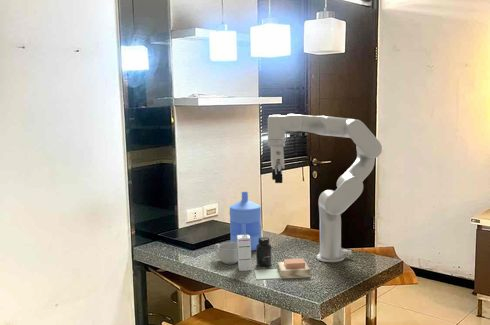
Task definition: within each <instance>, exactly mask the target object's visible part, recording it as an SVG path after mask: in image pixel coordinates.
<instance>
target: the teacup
mask: <svg viewBox="0 0 490 325" xmlns="http://www.w3.org/2000/svg"><path fill="white" fill-rule="evenodd" d="M213 249H214V251H215V253H216V254H217V255H218V258H219V260H220V261H221V262H222V263H223V264H225V265H234V264H238V250H237V242H231V241H227V242H222V243H215V244H214V246H213Z"/></svg>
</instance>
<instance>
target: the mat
mask: <svg viewBox="0 0 490 325" xmlns="http://www.w3.org/2000/svg"><path fill="white" fill-rule="evenodd" d="M253 271H254V272H253V273H254V276H255V279H256V281H259V280H260V281H261V280H262V281H263V280H279V279H281V280H282V279H283V278H281V276H280V274H279V271H278V268H273V269H272V268H271V269H255V270H254V269H253ZM297 278H299V279H300V278H302V279H303V277H288V278H287V279H297ZM307 278H311V275H310V276H308V277H307Z"/></svg>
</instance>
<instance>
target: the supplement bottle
mask: <svg viewBox="0 0 490 325" xmlns="http://www.w3.org/2000/svg"><path fill="white" fill-rule="evenodd" d="M258 243H259V244H258V245H257V246H256V250H255V252H256V253H255V255H256V256H255V258H256V259H255V262H256V265H257V266H258V267H260V268H261V267H263V268H265V267H266V268H267V267H270V266H271V265H272V264H273V263H272V261H273V260H272V254H273V253H272V252H273V250H272V245H271V243H270V238H269V237H266V236H263V237H262V236H261V238H259V241H258Z"/></svg>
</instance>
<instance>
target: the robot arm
mask: <svg viewBox="0 0 490 325" xmlns="http://www.w3.org/2000/svg"><path fill="white" fill-rule="evenodd" d="M286 132H305V133H312V134H315V135H320V136H327V137H339V138H349V139H351V140H352V141H353V143H354V144H355V145H356V147H355V148H356V159H355V160H354V161H353V163H352V164H351V165H350V167H348V168H347V169H346V171H344V173H343V174H341V175H340V176H339V177H338V179H337V181H336V187H337V188H336V189H335V190H333V189H326V190H324V191H322V192H321V193H320V195H318V196H319V197H318V201H317V202H318V213H319V253H318V254H317V255H316V259H317V260H318V261H319V262H320V261H321V262H323V263H340V262H343V261H344V260H345V256H346V255H352V249H346V248H345V249H343V248H342V217H341V216H342V214H343V213H344V212H345V211H346V210H348V208H349V207H350V206H352V204H353V203H355V201H357V199H358V198H359V197H360V196H361V195H362V193H363V191H364V183H363V182H364V180H366V178H367V177H369V175H370V174H371V172H372V171H373V169H374V167H375V161H376V158H378V157H379V156H380V155H381V154H382V151H383V148H382V147H383V146H382V143H381V142H380V141H379V139H378V138H377V137H376V135H374V134H373V133H372V131H371V130H370V129H369V128H368V126H367V125H366V124H365V123H364V121H361V120H360V119H355V118H348V117H346V118H345V117H336V116H329V115H328V116H326V115H306V114H295V113H288V114H287V115H281V114H272V115H269V116H268V117H267V147H268V148H270V163H271V169H272V171H271V178H272V181H274V183H275V184H282V183H283V170H285V168H286V167H285V153H284V152H285V151H284V147H286Z"/></svg>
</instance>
